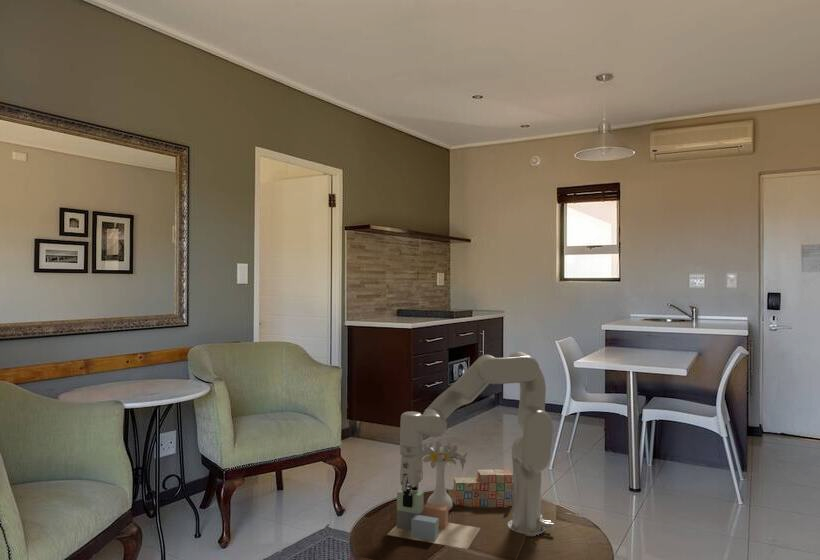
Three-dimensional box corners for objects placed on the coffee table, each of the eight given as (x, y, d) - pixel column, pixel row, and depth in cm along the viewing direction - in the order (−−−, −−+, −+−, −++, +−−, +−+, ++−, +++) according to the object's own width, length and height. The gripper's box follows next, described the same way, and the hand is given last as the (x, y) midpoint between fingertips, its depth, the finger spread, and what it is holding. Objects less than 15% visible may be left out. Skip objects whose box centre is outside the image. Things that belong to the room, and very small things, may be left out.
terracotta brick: (448, 523, 203) (448, 506, 203) (444, 528, 200) (445, 510, 200) (426, 520, 206) (426, 502, 206) (422, 524, 202) (422, 506, 202)
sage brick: (423, 509, 200) (423, 491, 200) (419, 513, 196) (419, 495, 196) (401, 505, 203) (401, 488, 203) (396, 510, 199) (397, 492, 199)
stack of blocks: (455, 508, 221) (455, 474, 221) (453, 501, 227) (453, 469, 227) (512, 507, 222) (513, 474, 222) (508, 501, 228) (509, 469, 228)
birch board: (480, 530, 200) (480, 527, 200) (467, 552, 185) (467, 549, 185) (405, 518, 210) (405, 515, 210) (386, 537, 194) (386, 534, 194)
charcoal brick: (423, 527, 200) (423, 509, 200) (419, 532, 196) (419, 513, 196) (401, 523, 203) (401, 505, 203) (396, 528, 199) (396, 510, 199)
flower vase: (469, 519, 210) (470, 448, 210) (417, 519, 209) (418, 448, 209) (464, 505, 223) (465, 438, 223) (415, 505, 222) (416, 438, 222)
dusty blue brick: (438, 536, 193) (438, 518, 193) (434, 541, 189) (435, 522, 189) (415, 532, 196) (415, 514, 196) (411, 537, 192) (411, 518, 192)
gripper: (413, 457, 190) (412, 514, 190) (429, 444, 206) (429, 497, 206) (391, 455, 193) (390, 511, 193) (409, 442, 209) (408, 494, 209)
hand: (410, 503), depth 200 cm, fingers open, 4 cm apart
